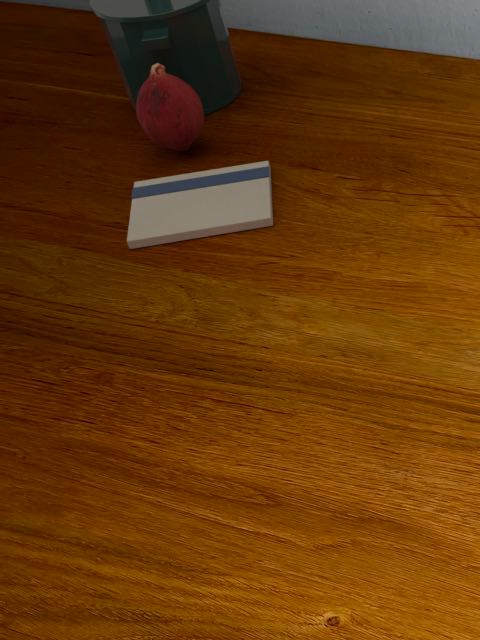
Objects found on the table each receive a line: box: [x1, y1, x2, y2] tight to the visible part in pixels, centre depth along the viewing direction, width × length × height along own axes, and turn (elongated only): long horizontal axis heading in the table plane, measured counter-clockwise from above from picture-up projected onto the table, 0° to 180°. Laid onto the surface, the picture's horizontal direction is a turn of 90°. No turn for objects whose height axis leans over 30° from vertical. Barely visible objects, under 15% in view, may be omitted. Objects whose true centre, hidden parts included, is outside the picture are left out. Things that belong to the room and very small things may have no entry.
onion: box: [135, 63, 205, 153], centre depth 96 cm, size 6×6×8 cm
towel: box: [126, 160, 274, 250], centre depth 91 cm, size 12×10×1 cm
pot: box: [99, 0, 243, 116], centre depth 103 cm, size 11×16×10 cm
